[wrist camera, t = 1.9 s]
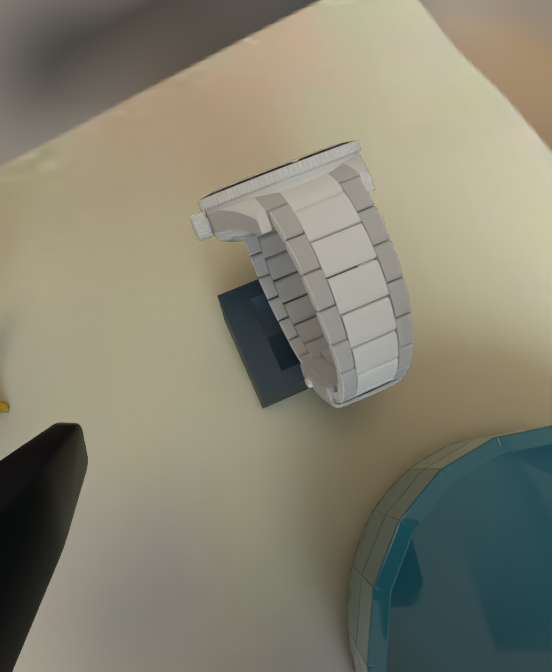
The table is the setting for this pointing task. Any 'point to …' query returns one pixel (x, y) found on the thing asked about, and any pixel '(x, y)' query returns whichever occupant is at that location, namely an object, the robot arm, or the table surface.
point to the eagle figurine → (3, 407)
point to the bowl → (459, 563)
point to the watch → (313, 279)
